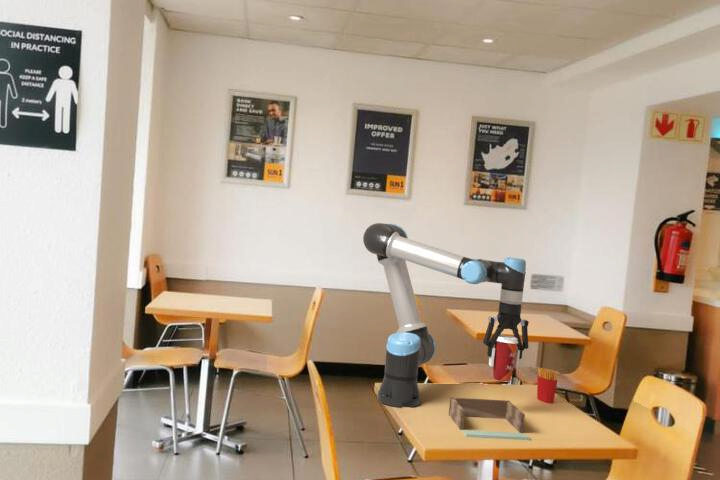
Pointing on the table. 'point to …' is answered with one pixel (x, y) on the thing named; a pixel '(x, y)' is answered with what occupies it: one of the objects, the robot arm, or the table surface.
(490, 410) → the crate
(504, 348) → the coffee cup
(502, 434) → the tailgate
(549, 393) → the french fries
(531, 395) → the table surface
